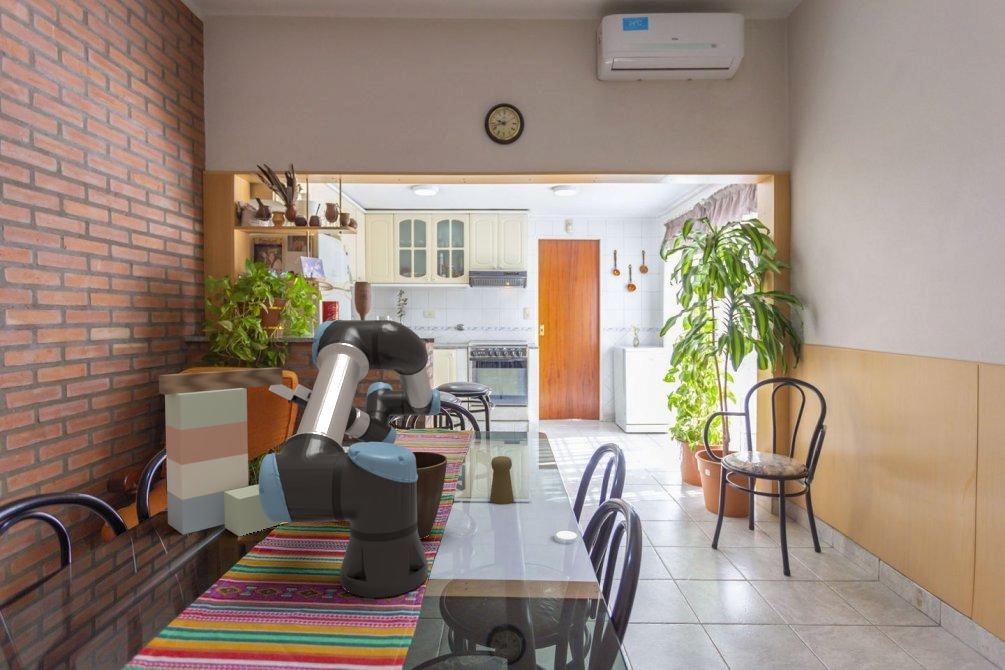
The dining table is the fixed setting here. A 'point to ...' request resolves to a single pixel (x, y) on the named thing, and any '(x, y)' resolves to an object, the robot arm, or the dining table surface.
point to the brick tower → (204, 455)
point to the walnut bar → (219, 380)
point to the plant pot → (429, 488)
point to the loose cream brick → (245, 511)
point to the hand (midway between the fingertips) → (283, 387)
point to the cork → (501, 481)
